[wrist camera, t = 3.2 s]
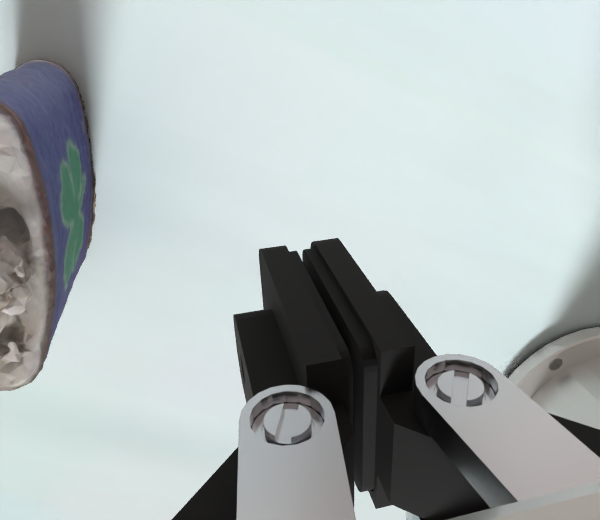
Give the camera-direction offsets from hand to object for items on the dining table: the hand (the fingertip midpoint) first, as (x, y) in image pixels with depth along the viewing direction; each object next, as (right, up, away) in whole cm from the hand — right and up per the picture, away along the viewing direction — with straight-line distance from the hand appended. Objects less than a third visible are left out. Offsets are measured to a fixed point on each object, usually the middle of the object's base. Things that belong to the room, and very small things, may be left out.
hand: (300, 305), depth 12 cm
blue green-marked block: (-10, +5, +11) cm, 16 cm away
